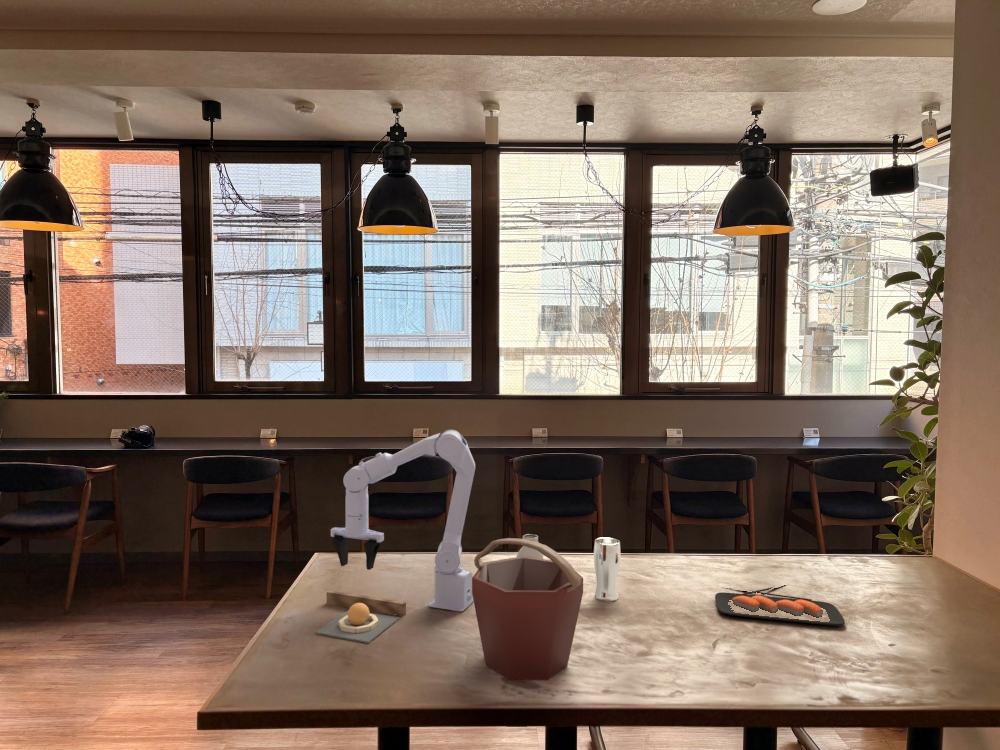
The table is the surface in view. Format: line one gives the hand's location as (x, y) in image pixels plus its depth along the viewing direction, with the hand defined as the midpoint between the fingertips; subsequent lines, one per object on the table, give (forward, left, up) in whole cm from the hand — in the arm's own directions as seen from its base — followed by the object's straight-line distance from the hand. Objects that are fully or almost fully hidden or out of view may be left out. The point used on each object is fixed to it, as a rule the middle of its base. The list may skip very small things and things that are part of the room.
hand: (357, 566), depth 167 cm
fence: (-4, +3, -9) cm, 11 cm away
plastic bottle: (-44, -7, -10) cm, 46 cm away
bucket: (-50, +14, -10) cm, 53 cm away
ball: (-8, +12, -6) cm, 16 cm away
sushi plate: (-100, -40, -10) cm, 108 cm away
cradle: (-8, +12, -9) cm, 17 cm away
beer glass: (-59, -27, -10) cm, 66 cm away
